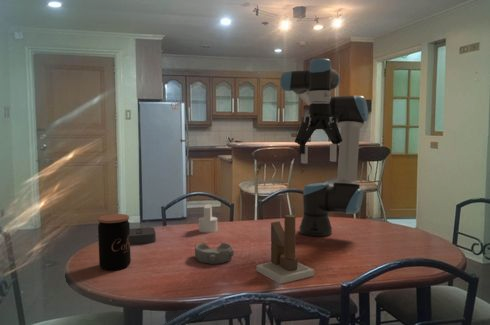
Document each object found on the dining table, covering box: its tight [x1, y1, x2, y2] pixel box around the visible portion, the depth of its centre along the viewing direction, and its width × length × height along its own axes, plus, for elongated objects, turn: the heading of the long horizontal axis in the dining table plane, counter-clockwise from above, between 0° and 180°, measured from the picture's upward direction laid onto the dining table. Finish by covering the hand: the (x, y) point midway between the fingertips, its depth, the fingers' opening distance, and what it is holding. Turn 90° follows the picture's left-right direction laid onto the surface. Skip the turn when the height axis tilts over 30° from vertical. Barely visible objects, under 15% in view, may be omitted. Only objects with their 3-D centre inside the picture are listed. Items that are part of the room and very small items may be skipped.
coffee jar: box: [97, 213, 132, 272], centre depth 145 cm, size 11×11×18 cm
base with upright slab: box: [198, 204, 219, 233], centre depth 195 cm, size 9×9×12 cm
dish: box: [194, 242, 235, 265], centre depth 153 cm, size 14×14×5 cm
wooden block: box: [270, 214, 298, 271], centre depth 138 cm, size 4×11×18 cm, turn 31°
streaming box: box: [130, 226, 157, 246], centre depth 178 cm, size 13×13×4 cm
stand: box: [256, 261, 315, 285], centre depth 138 cm, size 14×14×2 cm
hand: (318, 162), depth 148 cm, fingers open, 13 cm apart
